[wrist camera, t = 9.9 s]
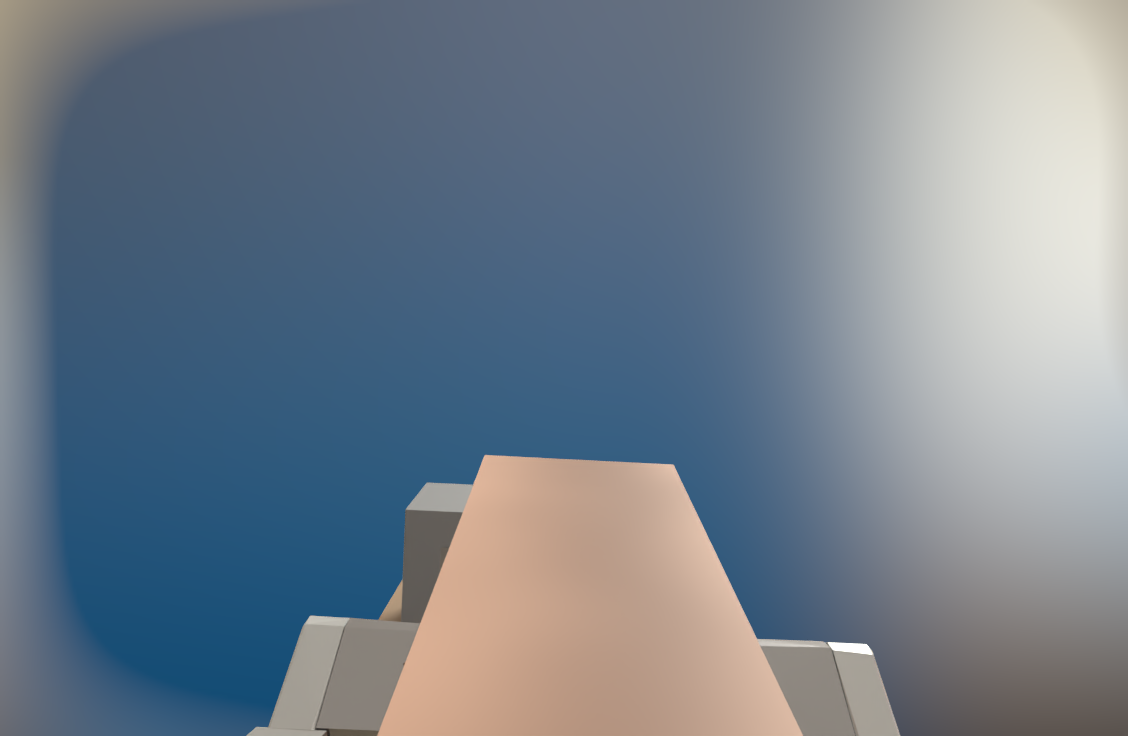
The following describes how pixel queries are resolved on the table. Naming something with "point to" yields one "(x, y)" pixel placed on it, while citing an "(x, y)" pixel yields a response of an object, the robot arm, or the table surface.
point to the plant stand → (426, 547)
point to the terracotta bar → (584, 615)
